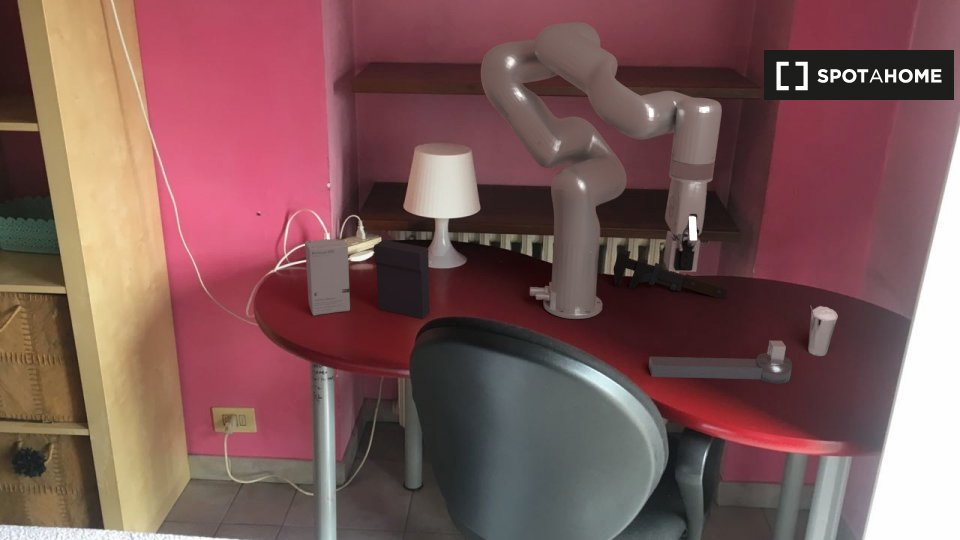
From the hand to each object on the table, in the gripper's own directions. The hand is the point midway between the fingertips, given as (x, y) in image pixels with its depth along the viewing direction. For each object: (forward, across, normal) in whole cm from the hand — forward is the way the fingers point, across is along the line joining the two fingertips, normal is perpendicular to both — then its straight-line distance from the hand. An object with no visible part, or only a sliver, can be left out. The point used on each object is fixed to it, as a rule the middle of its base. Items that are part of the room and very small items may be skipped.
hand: (679, 263), depth 142 cm
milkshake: (+17, +2, +27) cm, 32 cm away
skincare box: (+18, -13, -70) cm, 73 cm away
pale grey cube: (+1, 0, 0) cm, 1 cm away
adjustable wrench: (+18, -26, +5) cm, 31 cm away
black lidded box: (+18, -12, -54) cm, 58 cm away
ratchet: (+17, +11, +7) cm, 22 cm away
